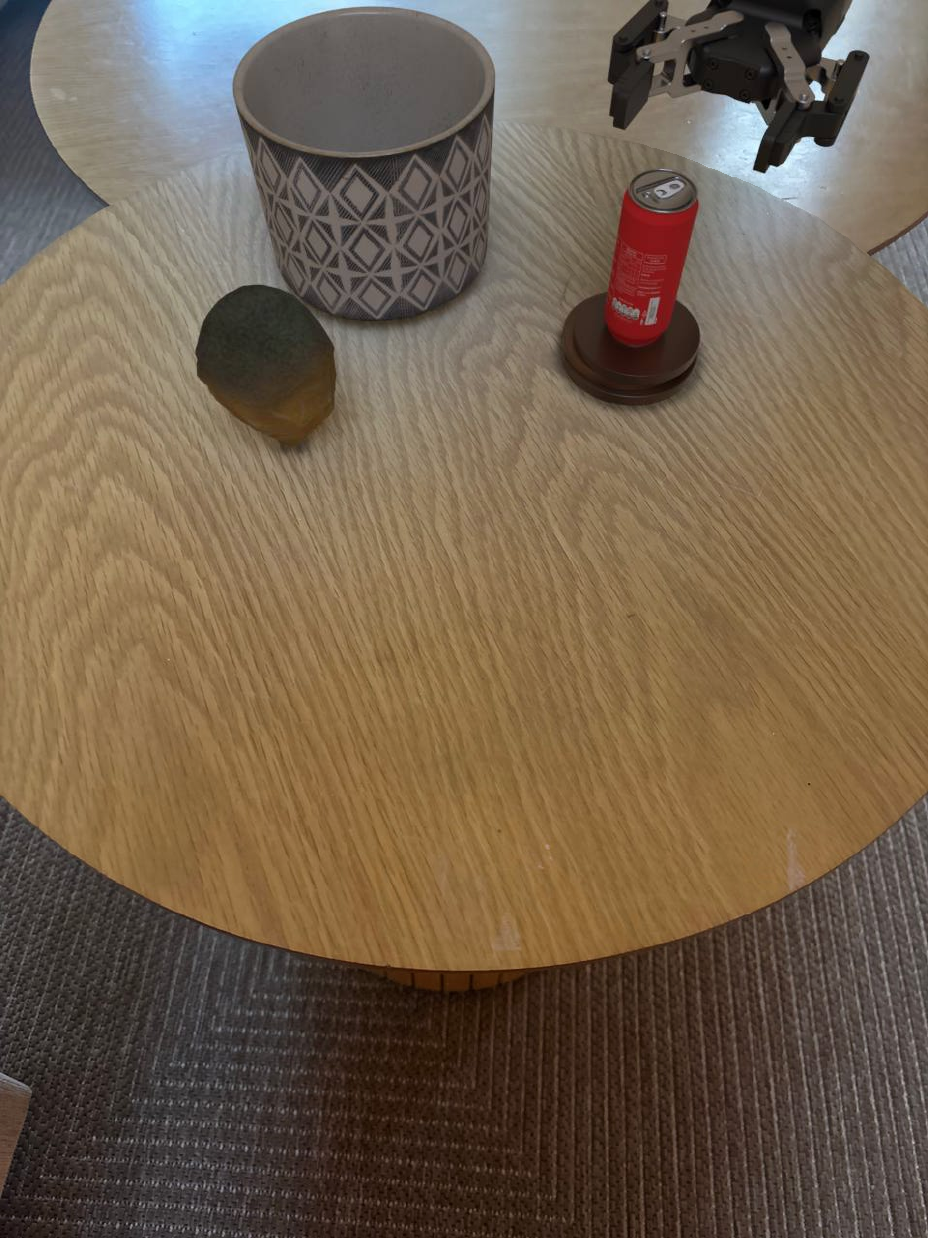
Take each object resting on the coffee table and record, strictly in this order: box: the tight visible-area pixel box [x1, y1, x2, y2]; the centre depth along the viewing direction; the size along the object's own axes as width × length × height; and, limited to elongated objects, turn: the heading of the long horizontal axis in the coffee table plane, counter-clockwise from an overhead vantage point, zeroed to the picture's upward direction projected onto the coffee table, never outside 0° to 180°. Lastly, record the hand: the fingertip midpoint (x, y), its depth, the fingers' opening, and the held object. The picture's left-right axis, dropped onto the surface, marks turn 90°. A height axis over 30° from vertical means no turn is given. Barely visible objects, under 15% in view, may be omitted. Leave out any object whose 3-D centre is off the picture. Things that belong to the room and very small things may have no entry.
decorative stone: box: [194, 284, 337, 447], centre depth 62 cm, size 10×6×15 cm, turn 95°
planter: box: [231, 5, 496, 322], centre depth 72 cm, size 19×19×16 cm
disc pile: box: [561, 290, 701, 406], centre depth 72 cm, size 11×11×3 cm
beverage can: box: [604, 168, 700, 347], centre depth 66 cm, size 5×5×12 cm
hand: (690, 134), depth 49 cm, fingers open, 8 cm apart
